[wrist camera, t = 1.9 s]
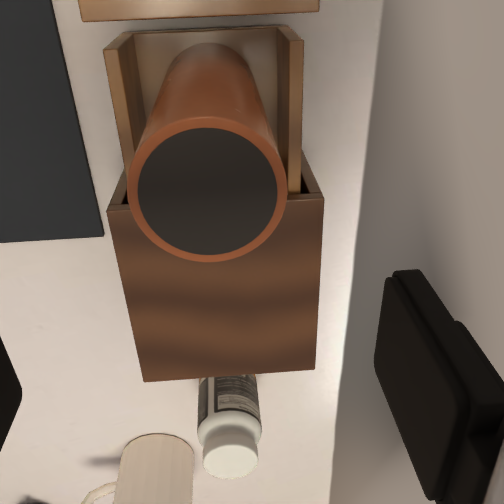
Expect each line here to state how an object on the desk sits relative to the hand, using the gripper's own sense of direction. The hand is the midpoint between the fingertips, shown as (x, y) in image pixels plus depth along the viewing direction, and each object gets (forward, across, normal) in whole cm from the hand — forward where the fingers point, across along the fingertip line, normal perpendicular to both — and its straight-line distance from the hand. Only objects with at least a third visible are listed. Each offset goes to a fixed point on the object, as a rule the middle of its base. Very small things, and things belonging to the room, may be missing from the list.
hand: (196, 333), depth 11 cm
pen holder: (+24, 0, 0) cm, 24 cm away
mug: (+26, +11, +40) cm, 49 cm away
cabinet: (+26, 0, +12) cm, 28 cm away
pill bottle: (+26, 0, +28) cm, 38 cm away
